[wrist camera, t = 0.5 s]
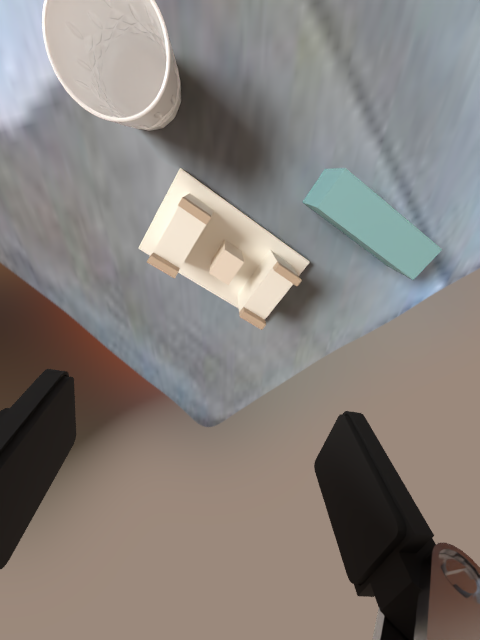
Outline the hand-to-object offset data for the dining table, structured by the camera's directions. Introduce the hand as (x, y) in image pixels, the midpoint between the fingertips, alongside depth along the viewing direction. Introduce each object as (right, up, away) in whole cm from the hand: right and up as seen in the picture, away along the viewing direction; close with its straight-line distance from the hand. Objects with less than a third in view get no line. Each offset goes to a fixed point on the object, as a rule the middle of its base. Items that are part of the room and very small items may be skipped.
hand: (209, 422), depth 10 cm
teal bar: (+15, +16, +24) cm, 32 cm away
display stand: (-1, +12, +25) cm, 27 cm away
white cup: (-8, +26, +17) cm, 32 cm away
